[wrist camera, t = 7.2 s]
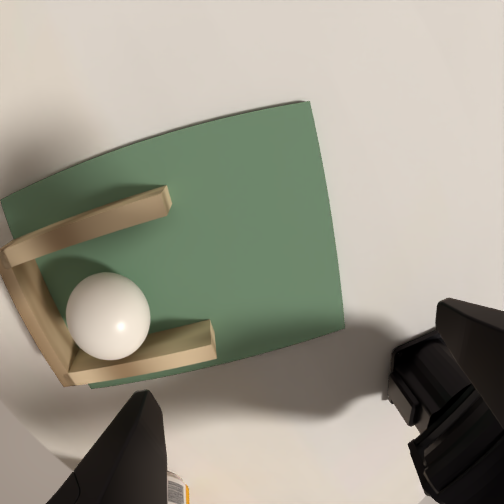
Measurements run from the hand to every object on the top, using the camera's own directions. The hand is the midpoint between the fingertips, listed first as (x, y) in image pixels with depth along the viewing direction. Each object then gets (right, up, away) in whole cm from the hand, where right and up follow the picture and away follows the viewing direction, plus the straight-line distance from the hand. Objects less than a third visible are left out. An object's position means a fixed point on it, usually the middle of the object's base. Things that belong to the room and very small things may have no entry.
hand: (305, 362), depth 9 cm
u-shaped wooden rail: (-10, +1, +9) cm, 13 cm away
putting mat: (-6, +2, +9) cm, 11 cm away
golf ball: (-9, 0, +7) cm, 11 cm away
